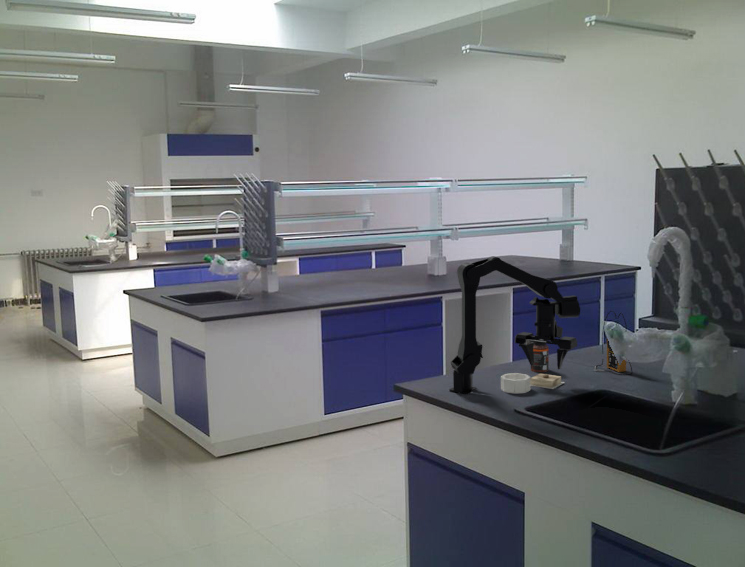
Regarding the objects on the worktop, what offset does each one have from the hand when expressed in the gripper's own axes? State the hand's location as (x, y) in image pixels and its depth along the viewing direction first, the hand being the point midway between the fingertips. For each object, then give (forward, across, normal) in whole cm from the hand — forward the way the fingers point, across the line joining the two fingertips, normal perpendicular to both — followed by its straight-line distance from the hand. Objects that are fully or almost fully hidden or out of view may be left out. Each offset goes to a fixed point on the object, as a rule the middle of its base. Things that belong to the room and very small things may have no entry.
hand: (545, 367), depth 230 cm
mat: (+6, 0, 0) cm, 6 cm away
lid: (+5, 0, 0) cm, 5 cm away
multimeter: (+6, -10, -27) cm, 30 cm away
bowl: (+6, +5, +11) cm, 13 cm away
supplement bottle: (+6, +9, -15) cm, 19 cm away
